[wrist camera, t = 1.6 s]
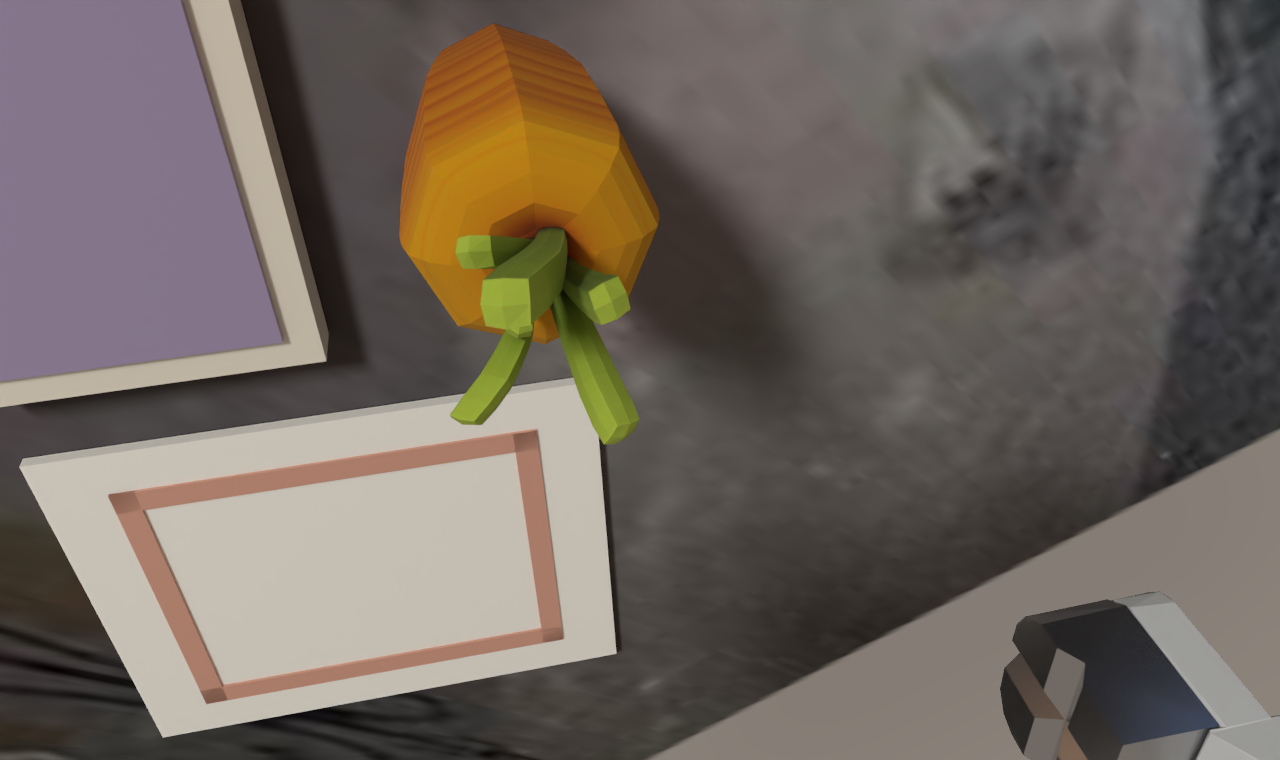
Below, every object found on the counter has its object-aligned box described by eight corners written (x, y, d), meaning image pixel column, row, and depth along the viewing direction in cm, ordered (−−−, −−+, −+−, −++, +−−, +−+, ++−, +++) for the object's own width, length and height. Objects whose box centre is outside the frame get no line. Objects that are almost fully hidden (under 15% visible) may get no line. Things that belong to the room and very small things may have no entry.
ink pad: (217, -87, 24) (207, -70, 23) (329, 333, 31) (325, 366, 30) (-243, -48, 23) (-284, -28, 22) (-18, 381, 30) (-38, 417, 29)
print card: (592, 374, 34) (594, 383, 34) (614, 646, 42) (616, 655, 42) (22, 458, 32) (18, 469, 31) (164, 728, 40) (162, 739, 40)
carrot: (587, 133, 29) (722, 471, 17) (412, 151, 29) (426, 517, 17) (576, -50, 26) (729, 206, 14) (381, -35, 26) (370, 248, 14)
